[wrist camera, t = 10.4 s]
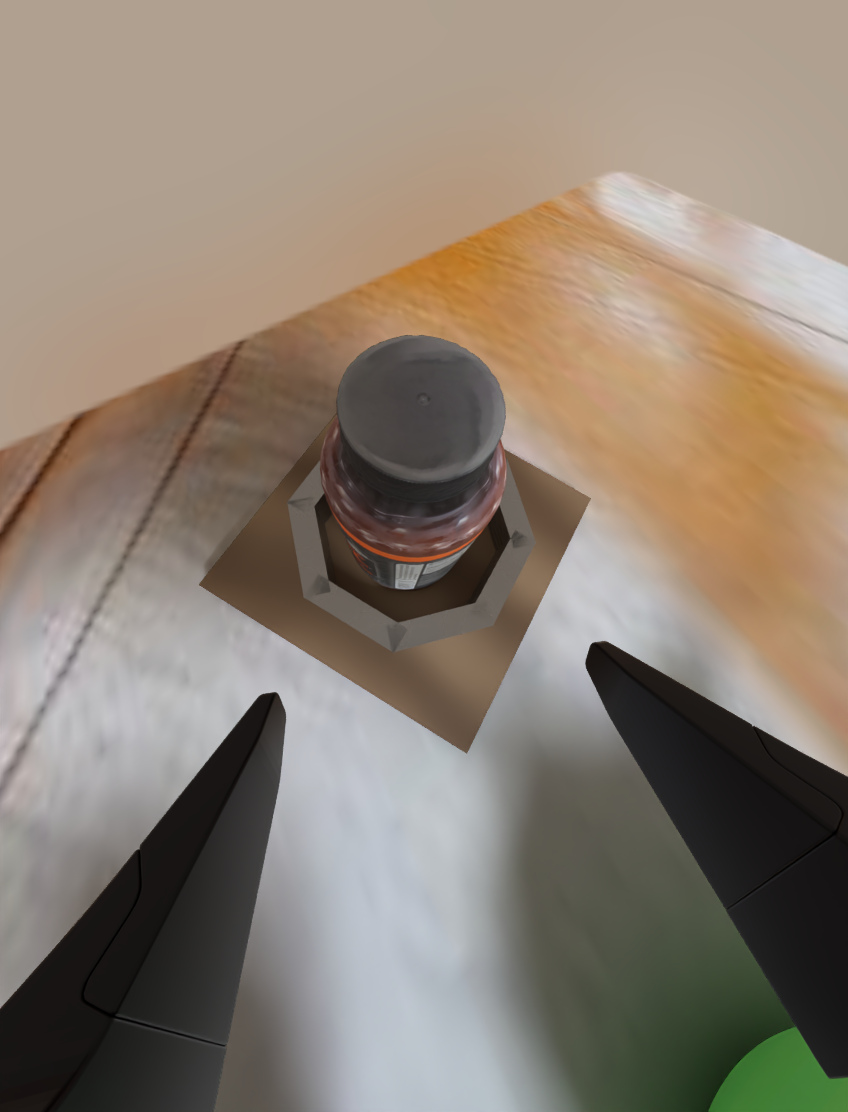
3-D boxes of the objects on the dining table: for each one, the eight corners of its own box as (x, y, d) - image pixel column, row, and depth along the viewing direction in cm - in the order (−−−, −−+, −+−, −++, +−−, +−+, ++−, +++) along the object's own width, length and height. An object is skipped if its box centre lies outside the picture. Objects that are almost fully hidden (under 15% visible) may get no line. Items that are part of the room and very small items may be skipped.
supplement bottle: (335, 514, 18) (250, 331, 8) (431, 477, 20) (477, 271, 9) (377, 612, 17) (348, 564, 6) (476, 567, 18) (595, 460, 8)
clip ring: (449, 685, 17) (458, 693, 14) (262, 570, 17) (241, 559, 15) (542, 508, 20) (563, 490, 17) (379, 415, 20) (377, 385, 18)
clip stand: (462, 747, 17) (466, 753, 16) (209, 587, 18) (198, 584, 17) (582, 504, 21) (590, 498, 20) (370, 384, 22) (368, 372, 21)
